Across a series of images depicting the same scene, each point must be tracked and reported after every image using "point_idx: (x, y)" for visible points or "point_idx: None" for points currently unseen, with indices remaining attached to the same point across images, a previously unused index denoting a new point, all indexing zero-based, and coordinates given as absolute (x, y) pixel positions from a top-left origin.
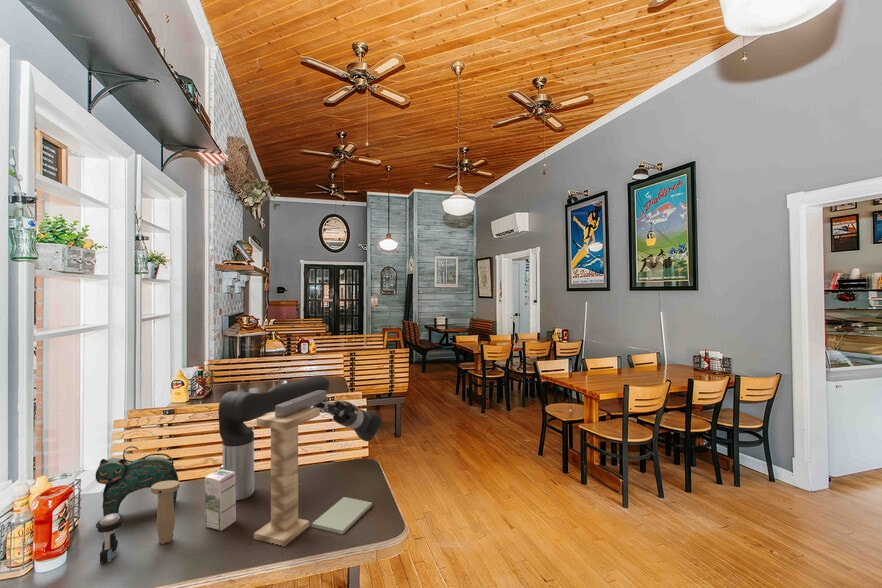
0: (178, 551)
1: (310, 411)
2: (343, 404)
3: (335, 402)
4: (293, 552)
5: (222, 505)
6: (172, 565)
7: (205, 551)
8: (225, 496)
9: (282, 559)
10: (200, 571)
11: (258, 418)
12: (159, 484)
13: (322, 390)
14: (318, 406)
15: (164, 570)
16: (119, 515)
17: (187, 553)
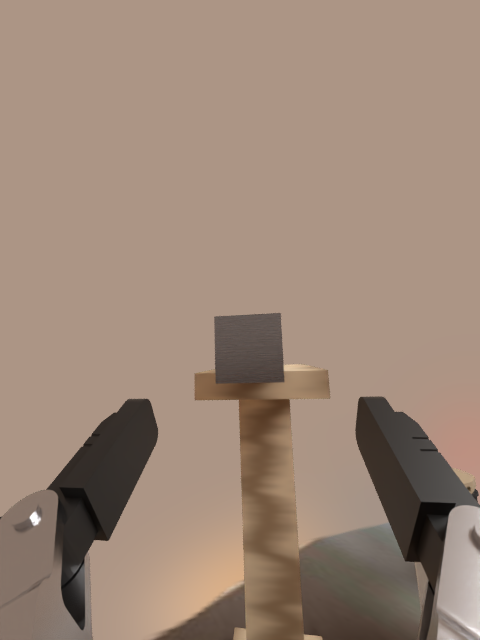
0: (403, 576)
1: (212, 370)
2: (55, 496)
3: (147, 407)
4: (206, 630)
5: (420, 589)
6: (366, 552)
7: (364, 588)
8: (424, 577)
9: (217, 605)
10: (317, 553)
11: (300, 364)
12: (459, 474)
13: (242, 315)
14: (398, 531)
15: (363, 543)
16: (472, 495)
17: (384, 576)
